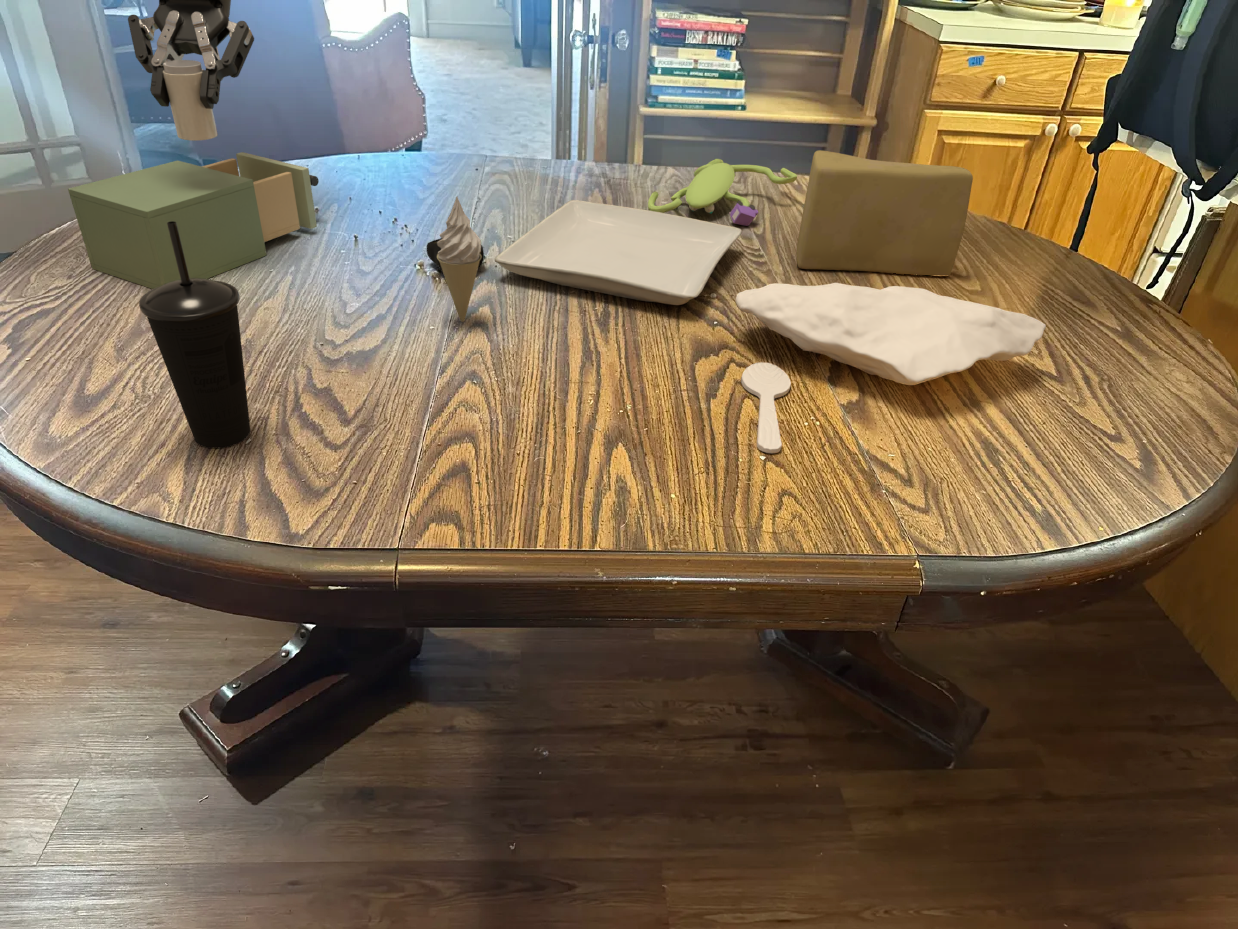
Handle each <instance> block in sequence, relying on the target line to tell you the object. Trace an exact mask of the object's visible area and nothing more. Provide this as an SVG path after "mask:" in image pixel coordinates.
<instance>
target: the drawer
mask: <svg viewBox="0 0 1238 929" xmlns="http://www.w3.org/2000/svg"><path fill="white" fill-rule="evenodd" d="M235 157H236V158H233V157H231V158H227V159H225V160H221V161H217V162H214V163H213V162H212V163H210V164H205V165H202V166H201V167H205V168H209V169H213V170H217V171H221V172H224V173H228V174H232V175H236V176H240V177H244V178H248V179H252V180H253V183H254V189H255V195H256V200H257V205H258V211H259V216H260V222H261V227H262V233H263V238H264V243H267V242H268V241H271V240H274V239H276V238H279V237H282V236H284V235H287V234H290V233H293V232H295V231H297V230H298V231H299V230H300V229H301V228H305V229H309V230H313V229H315V228H317V227H318V224H317V217H316V211H315V210H316V209H315V203H314V196H313V190H312V189H313V188H312V187H317V186H318V184H319V177H318V176H316V175H312V174H310V169H309V167H306V166H302V165H297V164H293V163H289V162H286V161H285V162H284V161H281V160H276V159H272V158H268V157H266V156H265V157H264V156H260V155H257V154H251V153H247V152H244V151H241V152H237V153H235Z"/></svg>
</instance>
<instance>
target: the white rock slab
mask: <svg viewBox="0 0 1238 929" xmlns="http://www.w3.org/2000/svg"><path fill="white" fill-rule="evenodd" d="M735 304H736V306H737V308H738V310H740V311H741V312H744V313H746V314H749V315H750V314H751V315H753V316H755V318H757V319H758V320H759V321H760V322H761V323H762V324H764V325H765V326H766V327H767V328H768V329H769V330H771V331H774V332H776V333H777V334H779V335H781V336H782V337H784V338H787V339H790V340H791V341H792V342H793V343H794V344H795V345H796V346H797V347H798V348H800V349H801V350H803V351H805V352H812V353H815V354H819V355H820V354H821V355H824V356H827V357H828V358H830V359H832V360H834V361H836V362H839V363H840V364H841V363H842V364H845V365H847V366H851V367H854V368H856V369H858V370H861V371H863V372H864V373H867V374H868V375H871V376H878V377H880V378H882V379H885V380H890V381H893V382H895V383H896V384H901V385H907V386H915V385H918V384H922V383H925V382H928V381H932V380H937V379H938V378H942V377H944V376H946V375H949V374H954V373H955V374H956V373H960V372H963V371H965V370H968V369H970V368H971V367H972V366H973V365H974V364H975V363H976V362H977V361H983V360H987V361H997V362H1005V361H1009V360H1012V359H1014V358H1017V357H1023V356H1026V355H1028V354H1029V353H1030V352H1031V351H1032V350H1033V348H1034V346H1035V344H1036V343H1037V342H1039V341H1040V340H1041V339H1042V337H1043V335H1044V332H1045V330H1046V328H1047V326H1046V323H1044V322H1042V321H1041V320H1039V319H1038V318H1035V317H1032V316H1030V315H1028V314H1025V313H1021V312H1015V311H1011V310H1005V309H1002V308H999V307H996V306H991V305H987V304H983V303H979V302H973V301H969V300H964V299H959V298H955V297H951V296H947V295H946V296H945V295H940V294H937V293H935V292H934V291H933V292H932V291H930V290H929V289H926V288H922V287H911V286H901V285H890V286H887V287H884V288H881V289H880V288H879V289H878V288H874V287H870V286H861V285H850V284H845V283H840V282H831V283H828V284H827V283H826V284H820V285H799V284H791V283H779V282H777V283H770V284H767V285H765V286H762V287H759V288H751V289H745V290H743V291H739V292H738V293H737V295H736V296H735Z"/></svg>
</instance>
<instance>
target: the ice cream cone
mask: <svg viewBox="0 0 1238 929" xmlns="http://www.w3.org/2000/svg"><path fill="white" fill-rule="evenodd" d="M458 197H459V196H458V195H457V196H455V200H454V203H453V205H452V207H451V211H450V213H449V215H448V217H447V219H446V221H445V224H446V229H445V230H444V231H442V232H440V233H439V237H440V238H442V240H440V241H438V242H437V245H438V246H439V247H440V248H441V250H440V251H439V252H438V255H437V259H438V260H439V262H440V265H441V267H442V270H443V272H442V273H443V276H444V279H445V282H446V286H447V288H448V290H449V294H450V296H451V299H452V302H453V304H454V308H455V310H456V314H457V316H458V319H459V322H461V323H464V322H465V321H466V317H467V313H468V309H469V305H470V301H471V297H472V294H473V289H474V284H475V280H476V277H477V273H478V270H479V268H478V265H479V261H480V260H481V258H482V256H481V254H480V252H481V245H482V240H481V239H480V237H479V236H478V235H477V233H476V232H475V231H474V230H473V229H472V227H471V219H469V217H468V216H467V215H466V213H465V211H464V209H463V207H462V205H461V201H460V199H459V198H458Z"/></svg>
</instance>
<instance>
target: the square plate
mask: <svg viewBox="0 0 1238 929" xmlns="http://www.w3.org/2000/svg"><path fill="white" fill-rule="evenodd" d="M741 234H742V228H740V227H735V226H730V225H725V224H720V223H715V222H711V221H706V220H701V219H696V218H691V217H687V216H682V215H677V214H670V213H667V212H665V213H660V212H654V211H650V210H649V209H642V208H635V207H630V206H629V207H628V206H621V205H614V204H606V203H599V202H594V201H593V202H592V201H585V200H577V199H571V200H568V201H567V202H565V203H564V204H563V205H562V206H560V207H558V208H557V209H556V210H554V211H553V212H552V213H550V214H549V215H548V216H546V217H545V218H544V219H542V220H541V221H540V222H538V223H537V224H536V225H534V226H533V227H532V228H530V229H528V231H527V232H526V233H524V234H523V235H522V236H520V237H519V238H518V239H516V240H515V241H514V242H513V243H511V244H510V245H509V246H507V247H506V248H505V249H503V251H501V252H500V253H499V254H498V255H497V256H496V257H495V258H494V262H495V263H496V264H498V265H500V266H501V267H502V268H504V269H505V270H507V271H509V272H510V273H513V274H516V275H519V276H523V277H528V278H532V279H536V280H541V281H544V282H547V283H550V284H555V285H559V286H565V287H569V288H574V289H575V288H576V289H580V290H585V291H590V292H595V293H601V294H604V295H605V294H606V295H610V296H614V297H621V298H625V299H630V300H635V301H640V302H648V303H660V304H665V305H672V306H682V305H685V304H687V303H689V301H691V300H693V299H694V298H697V297H698V296H700V294H701V292H703V290H704V287H705V286H706V284H707V282H708V280H709V278H710V276H711V275H712V273H713V272H714V270H715V268H716V266H717V265H718V263H719V261H720V260H721V259H722V258H723V256H724V255H725V254H726V253H727V251H728V250H729V249H730V248H731V247H732V246H733V244H734V243H735V242H736V241H737V240H738V238H740V236H741Z"/></svg>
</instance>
